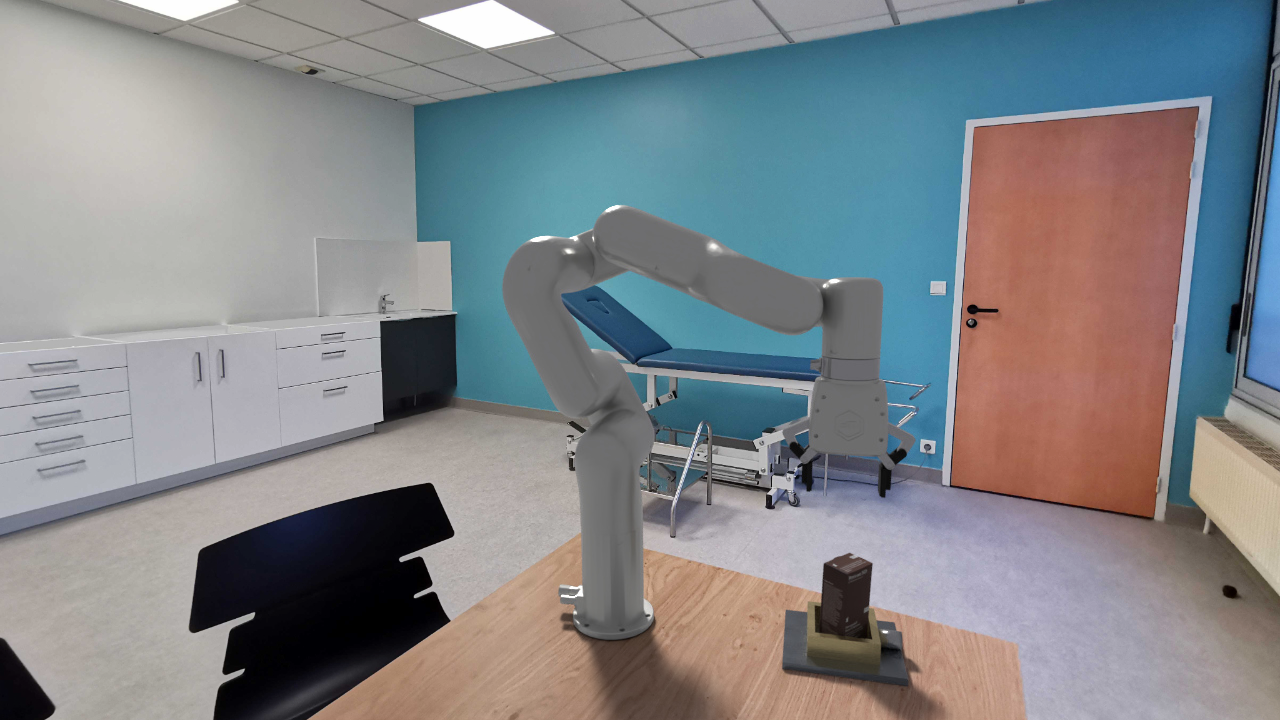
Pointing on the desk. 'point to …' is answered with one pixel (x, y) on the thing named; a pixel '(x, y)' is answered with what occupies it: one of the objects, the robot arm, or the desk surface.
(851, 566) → the box
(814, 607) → the square socket base
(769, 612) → the desk surface
